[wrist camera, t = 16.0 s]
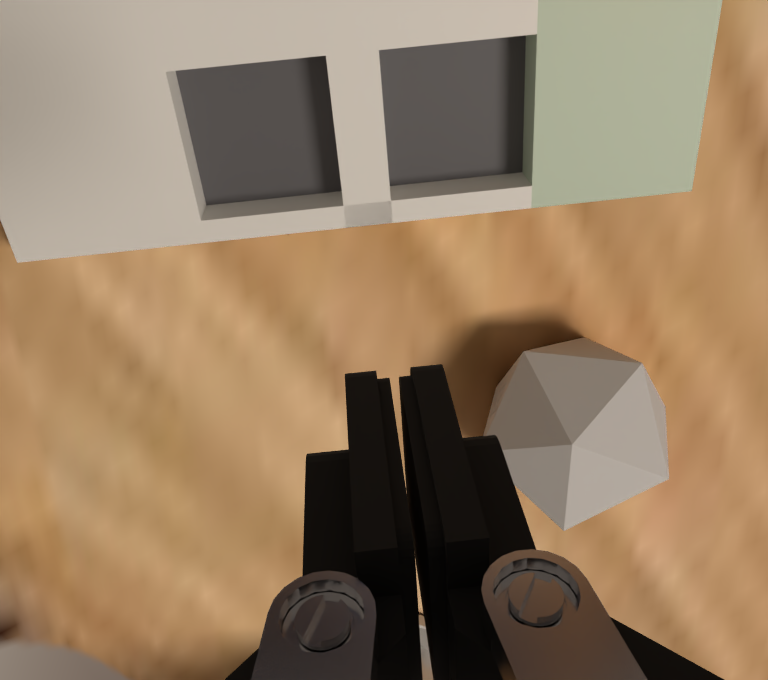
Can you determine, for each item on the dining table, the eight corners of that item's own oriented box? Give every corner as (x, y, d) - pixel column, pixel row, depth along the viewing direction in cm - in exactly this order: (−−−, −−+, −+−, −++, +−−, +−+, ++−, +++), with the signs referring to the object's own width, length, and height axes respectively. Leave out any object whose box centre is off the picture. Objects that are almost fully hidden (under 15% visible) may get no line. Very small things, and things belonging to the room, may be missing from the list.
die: (472, 303, 36) (438, 498, 32) (657, 290, 32) (644, 516, 28) (529, 372, 43) (506, 541, 39) (691, 369, 38) (683, 562, 34)
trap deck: (672, 175, 33) (691, 191, 31) (33, 242, 32) (17, 262, 30) (722, -175, 26) (751, -179, 24) (-96, -97, 25) (-126, -96, 23)
